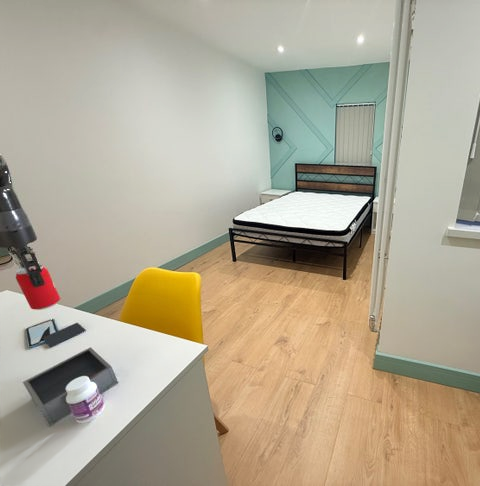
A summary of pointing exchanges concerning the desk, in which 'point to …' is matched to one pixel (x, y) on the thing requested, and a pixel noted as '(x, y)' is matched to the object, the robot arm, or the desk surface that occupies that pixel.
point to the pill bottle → (84, 399)
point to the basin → (59, 376)
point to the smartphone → (40, 332)
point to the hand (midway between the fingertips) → (36, 282)
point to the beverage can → (38, 290)
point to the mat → (63, 334)
